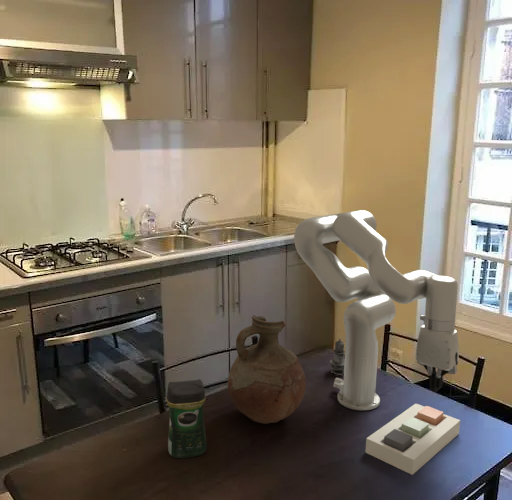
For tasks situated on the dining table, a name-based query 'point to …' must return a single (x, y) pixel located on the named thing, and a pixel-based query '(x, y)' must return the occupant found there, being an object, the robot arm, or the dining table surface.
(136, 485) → the dining table surface
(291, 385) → the jug
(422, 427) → the sage button
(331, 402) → the dining table surface
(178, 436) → the coffee jar
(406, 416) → the button panel
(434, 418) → the terracotta button
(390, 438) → the charcoal button
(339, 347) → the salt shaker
